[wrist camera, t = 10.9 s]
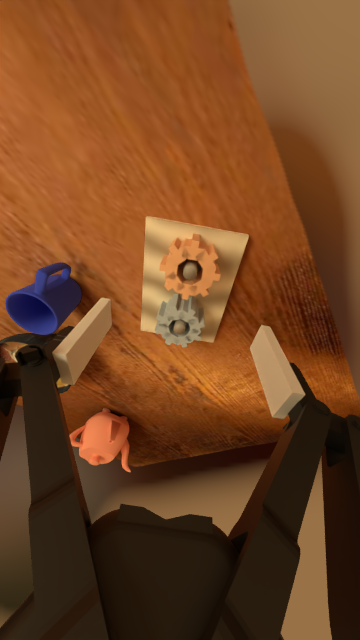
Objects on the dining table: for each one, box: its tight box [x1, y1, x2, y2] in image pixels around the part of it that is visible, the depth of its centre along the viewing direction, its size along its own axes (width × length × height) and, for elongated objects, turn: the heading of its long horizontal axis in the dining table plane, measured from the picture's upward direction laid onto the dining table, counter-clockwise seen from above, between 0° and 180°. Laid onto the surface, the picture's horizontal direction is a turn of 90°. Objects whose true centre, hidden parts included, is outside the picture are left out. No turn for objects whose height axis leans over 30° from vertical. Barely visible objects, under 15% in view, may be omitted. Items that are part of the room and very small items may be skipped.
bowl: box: [0, 333, 71, 394], centre depth 44 cm, size 17×17×10 cm
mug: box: [5, 263, 82, 335], centre depth 34 cm, size 8×12×10 cm
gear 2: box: [155, 293, 205, 348], centre depth 36 cm, size 9×9×5 cm
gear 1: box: [159, 233, 221, 300], centre depth 30 cm, size 9×9×5 cm
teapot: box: [69, 408, 131, 472], centre depth 61 cm, size 16×17×14 cm
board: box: [141, 216, 249, 343], centre depth 34 cm, size 22×16×7 cm
